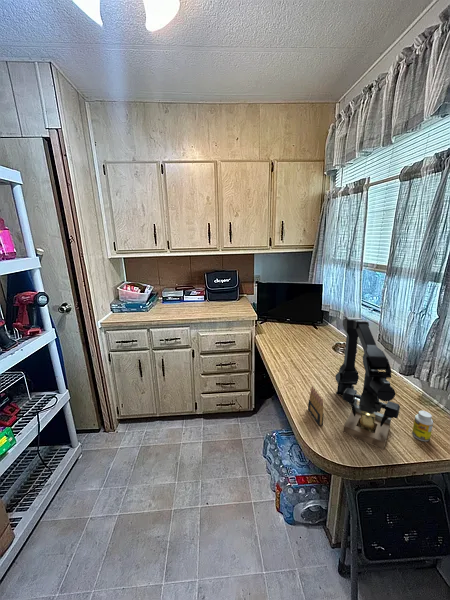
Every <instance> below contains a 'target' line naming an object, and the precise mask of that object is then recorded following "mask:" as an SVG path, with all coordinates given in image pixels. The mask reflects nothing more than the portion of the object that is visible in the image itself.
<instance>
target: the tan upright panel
mask: <svg viewBox="0 0 450 600" xmlns="http://www.w3.org/2000/svg"><path fill="white" fill-rule="evenodd" d="M321 397H322V396H321V395H319V393H318V392H317V390H316V389H315V388H314V386H311V389H310V393H309V399H308V406H307V410H308V412H309V413H310V415H311V416H312V418H313V419H314V420H315V422H316V423H317V426H324V415H325V414H324V400H323V398H321Z"/></svg>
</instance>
